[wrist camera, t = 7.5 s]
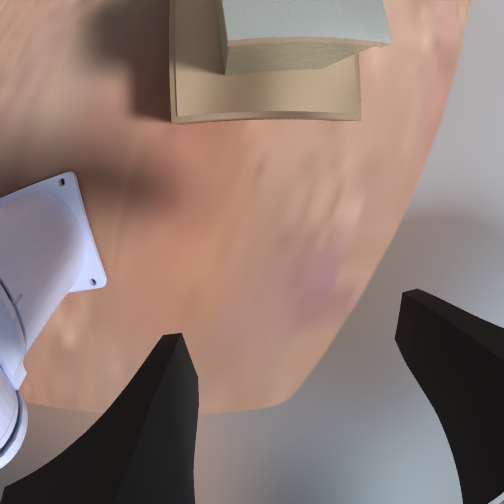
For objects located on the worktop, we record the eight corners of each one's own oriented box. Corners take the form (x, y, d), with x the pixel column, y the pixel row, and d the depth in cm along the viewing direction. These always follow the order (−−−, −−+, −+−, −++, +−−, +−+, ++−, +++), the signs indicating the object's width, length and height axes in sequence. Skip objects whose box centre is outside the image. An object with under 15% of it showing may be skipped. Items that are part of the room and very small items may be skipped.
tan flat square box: (182, 124, 16) (171, 123, 12) (179, -8, 12) (170, -37, 8) (332, 120, 17) (361, 120, 13) (324, -5, 13) (349, -30, 9)
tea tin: (222, 77, 11) (227, 40, 6) (211, -8, 10) (210, -78, 4) (323, 71, 12) (391, 43, 6) (309, -11, 10) (359, -69, 4)
